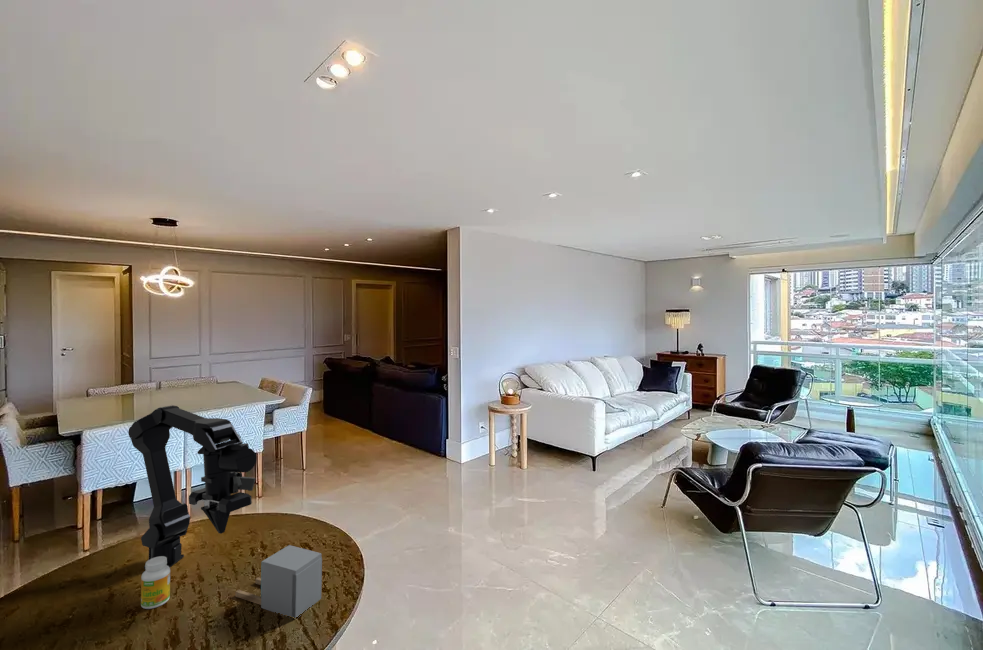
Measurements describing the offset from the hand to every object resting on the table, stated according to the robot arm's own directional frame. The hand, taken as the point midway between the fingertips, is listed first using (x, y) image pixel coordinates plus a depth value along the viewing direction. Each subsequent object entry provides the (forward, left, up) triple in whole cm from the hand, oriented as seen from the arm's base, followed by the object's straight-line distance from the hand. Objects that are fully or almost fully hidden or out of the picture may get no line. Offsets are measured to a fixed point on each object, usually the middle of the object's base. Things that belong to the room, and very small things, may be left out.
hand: (221, 532), depth 111 cm
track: (+13, -5, -12) cm, 18 cm away
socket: (+22, -8, -12) cm, 26 cm away
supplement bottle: (-10, -9, -12) cm, 18 cm away
